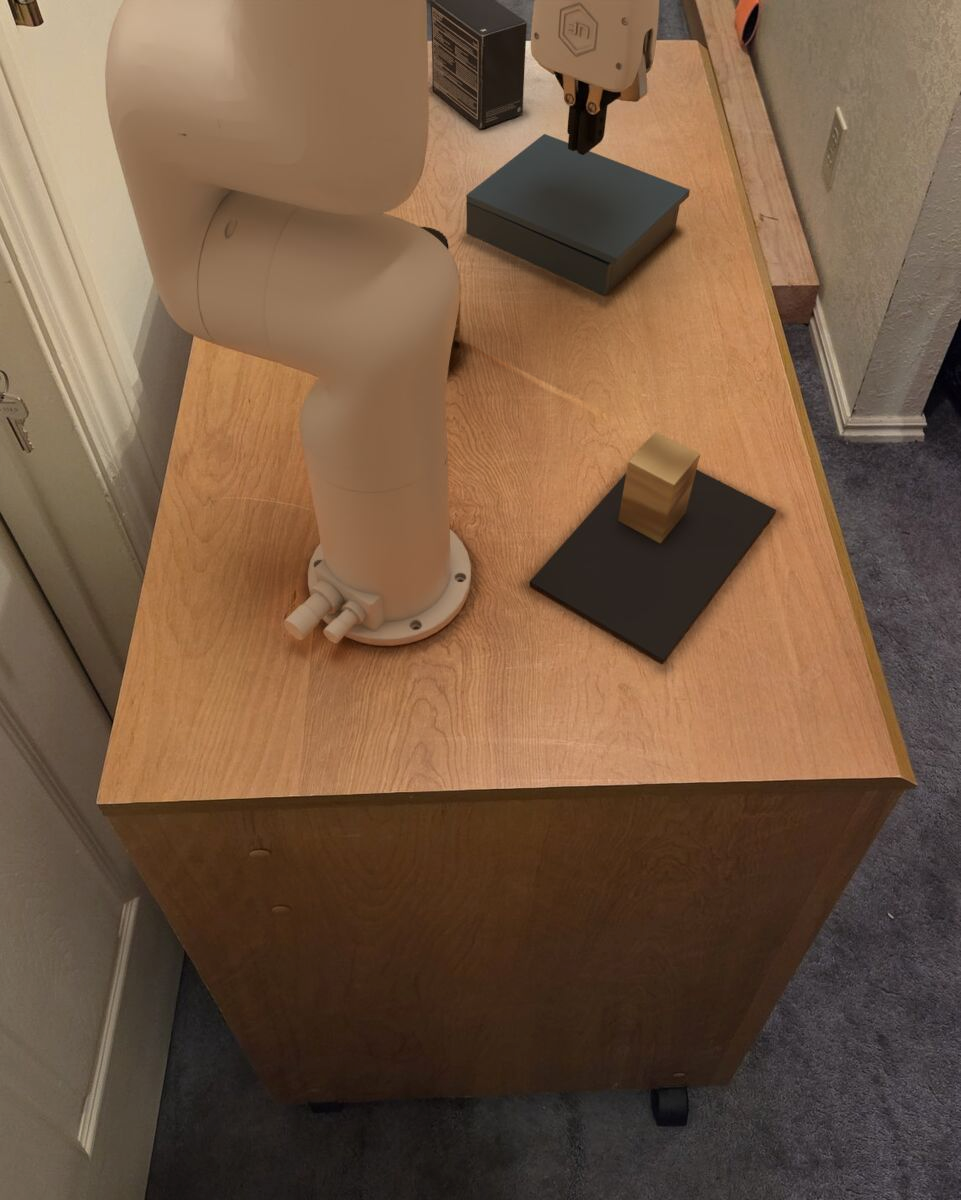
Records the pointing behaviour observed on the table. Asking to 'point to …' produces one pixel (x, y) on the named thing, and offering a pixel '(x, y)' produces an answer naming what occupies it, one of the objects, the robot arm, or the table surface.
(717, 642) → the table surface
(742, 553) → the mat
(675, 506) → the block
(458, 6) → the small box
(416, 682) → the table surface
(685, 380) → the table surface
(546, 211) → the lunchbox lid
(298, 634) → the robot arm
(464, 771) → the table surface
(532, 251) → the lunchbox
